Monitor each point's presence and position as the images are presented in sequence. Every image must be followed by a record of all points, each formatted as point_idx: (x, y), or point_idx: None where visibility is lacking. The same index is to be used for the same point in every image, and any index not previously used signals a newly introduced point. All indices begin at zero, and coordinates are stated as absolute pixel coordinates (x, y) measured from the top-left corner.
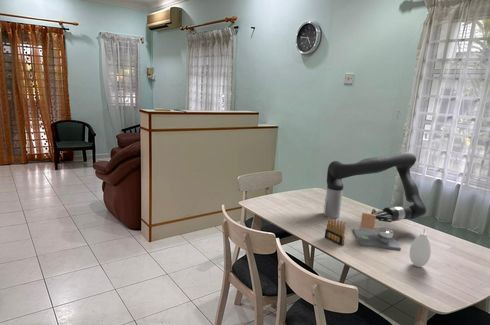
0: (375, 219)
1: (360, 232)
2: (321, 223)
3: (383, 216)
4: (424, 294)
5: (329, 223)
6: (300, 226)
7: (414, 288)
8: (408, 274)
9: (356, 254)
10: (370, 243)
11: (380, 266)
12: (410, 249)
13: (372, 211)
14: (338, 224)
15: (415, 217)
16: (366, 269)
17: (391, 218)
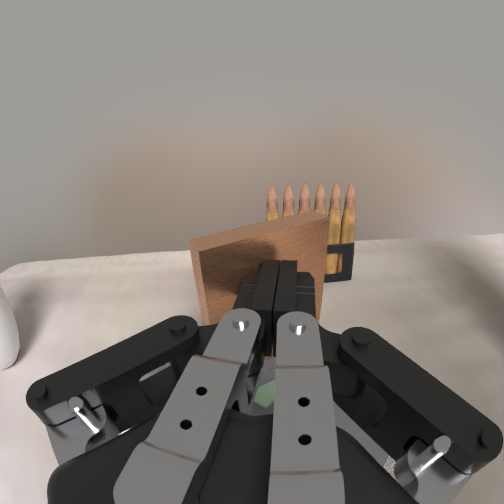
0: (199, 290)
1: (344, 417)
2: (476, 318)
3: (132, 346)
4: (23, 275)
5: (343, 213)
6: (434, 259)
7: (36, 276)
8: (38, 305)
9: (192, 281)
10: None
11: (106, 286)
12: (4, 299)
13: (393, 358)
14: (299, 203)
15: None
16: (134, 258)
17: (33, 402)
